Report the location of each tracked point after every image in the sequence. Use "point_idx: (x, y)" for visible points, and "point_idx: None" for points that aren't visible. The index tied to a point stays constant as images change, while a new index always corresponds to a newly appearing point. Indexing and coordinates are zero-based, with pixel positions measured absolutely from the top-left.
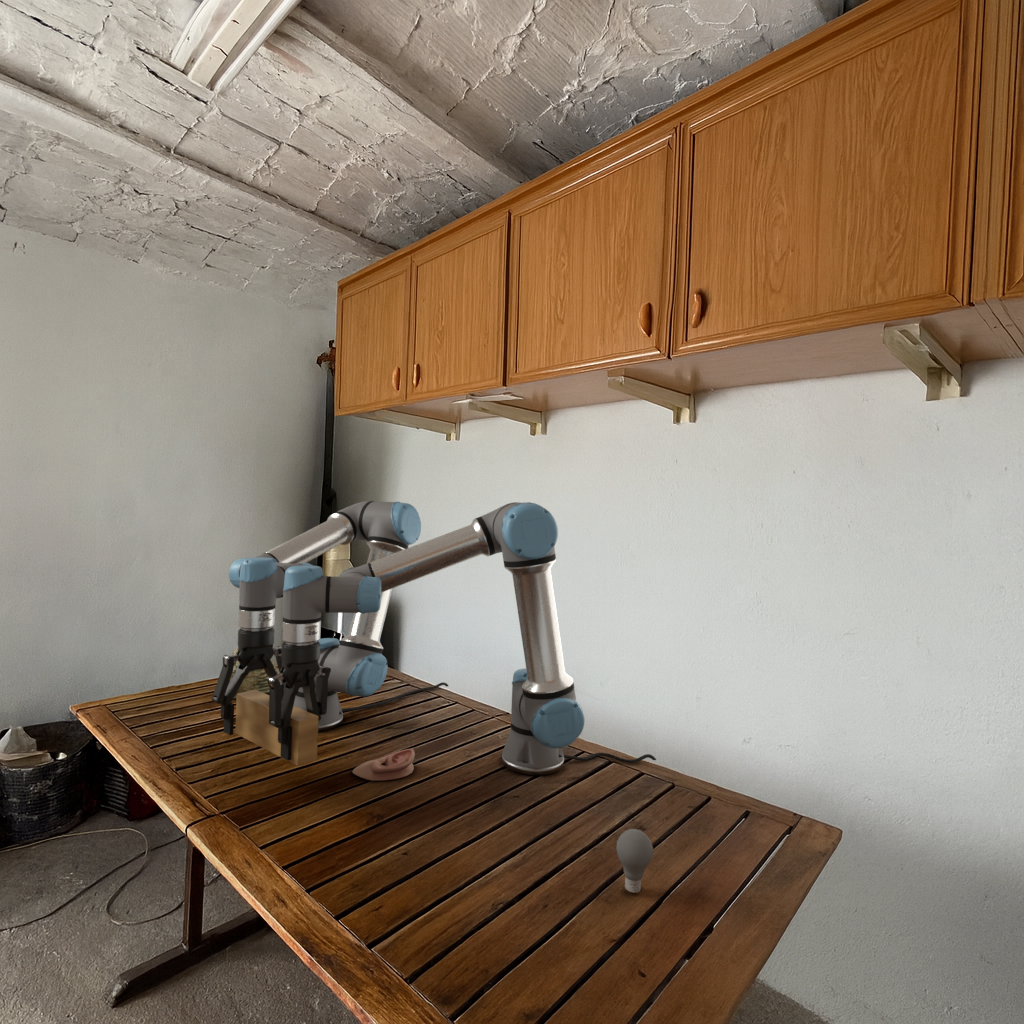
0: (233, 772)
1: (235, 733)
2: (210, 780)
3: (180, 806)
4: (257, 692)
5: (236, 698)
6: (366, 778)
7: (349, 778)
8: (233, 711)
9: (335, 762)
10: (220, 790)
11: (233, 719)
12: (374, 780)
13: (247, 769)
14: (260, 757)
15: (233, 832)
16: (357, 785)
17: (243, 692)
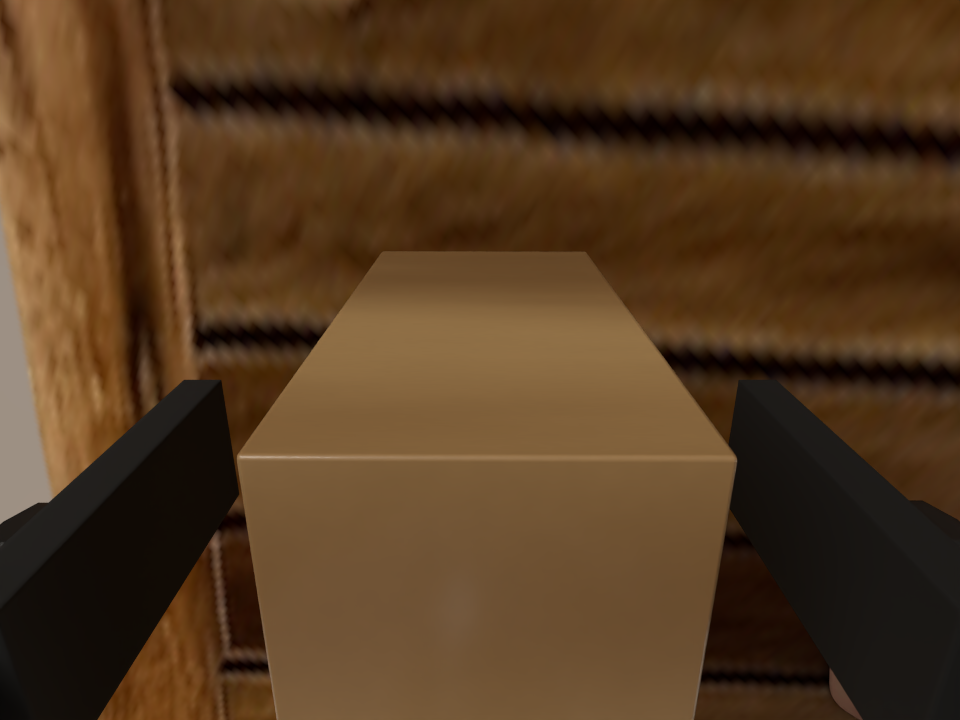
0: (445, 140)
1: (383, 253)
2: (292, 149)
3: (67, 341)
4: (626, 661)
5: (271, 409)
6: (831, 684)
7: None
8: (112, 681)
9: (913, 436)
10: (288, 315)
11: (171, 596)
12: (841, 705)
13: (529, 161)
14: (699, 33)
15: (194, 668)
16: (767, 680)
17: (402, 483)
